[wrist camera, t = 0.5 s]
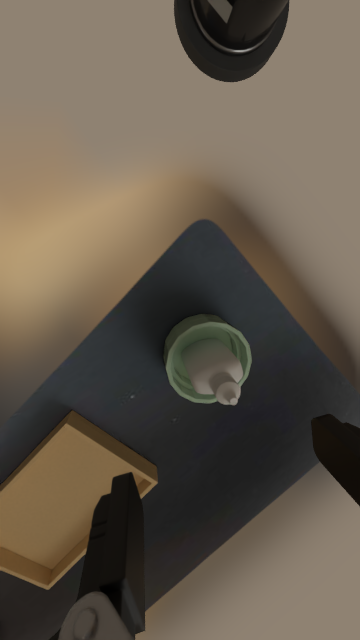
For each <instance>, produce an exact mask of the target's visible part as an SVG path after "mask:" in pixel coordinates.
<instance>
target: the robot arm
mask: <svg viewBox="0 0 360 640" xmlns="http://www.w3.org/2000/svg"><path fill="white" fill-rule="evenodd" d="M288 1H289V0H190V7H191V12H192V16H193V19H194V22H195V24H196V26H197V28H198V30H199V32H200V34H201V35H202V37H203V38H204V39H205V40H206V42H207V43H208V44H209V45H210V46H211V47H213V48H214V49H215V50H217V51H219V52H220V53H223V54H225V55H228V56H244V55H248V54H250V53H252V52H254V51H255V50H257V49H258V48H259V47H261V46H262V45H263V43H264V42H265V41H266V40H267V38H268V37H269V35H270V33H271V32H272V30H273V28H274V26H275V24H276V22H277V19H278V18H279V16H280V14H281V12H282V11H283V9H284V7H285V5H286V4H287V2H288ZM311 425H312V437H313V448H314V451H315V454H316V456H317V458H318V459H319V461H320V462H321V463H322V464H323V465H324V467H325V468H326V469H327V470H328V471H329V472H330V473H331V475H332V476H333V477H334V478H335V479H336V480H337V481H338V482H339V483H340V485H341V486H342V487H343V488H344V489H345V490H346V491H347V492H348V494H349V495H350V496H351V497H352V498H353V499H354V500H355V502H356V503H357V504H358V505H359V506H360V428H358V427H356V426H354V425H351V424H349V423H347V422H346V423H341V422H340V421H339V420H338V419H336V418H335V417H334V416H333V415H331V414H326V415H323V416H319V417H316V418H313V419H312V421H311ZM143 631H145V585H144V516H143V507H142V502H141V498H140V495H139V492H138V488H137V485H136V482H135V479H134V476H133V473H132V472H128V473H125V474H122V475H118V476H115V477H113V479H112V486H111V493H109V494H106V495H103V496H101V498H100V500H99V502H98V503H97V505H96V507H95V509H94V512H93V518H92V523H91V529H90V534H89V541H88V545H87V550H86V556H85V561H84V566H83V572H82V577H81V583H80V588H79V593H78V597H77V600H76V603H75V605H74V606H73V607H72V608H71V610H70V611H69V613H68V614H67V616H66V618H65V620H64V622H63V625H62V627H61V628H60V630H59V631H58V632H57V633H56V634H55V635H54V636H53V637H51V638H50V639H49V640H135V634H137V633H140V632H143Z"/></svg>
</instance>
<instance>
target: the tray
mask: <svg viewBox="0 0 360 640" xmlns="http://www.w3.org/2000/svg"><path fill="white" fill-rule="evenodd" d="M128 472H132V473H133V476H134V479H135V482H136V485H137V488H138V492H139V495H140V498H142V497H143V496H144V495H145V494H147V493H148V492H149V491H150V490H151V489H152V488H153V487H154V486H155V485H156V484H157V483H158V478H157V467H156V466H155V465H154V464H152V463H151V462H149V461H148V460H146V459H145V458H143V457H142V456H140V455H139V454H137V453H136V452H134V451H133V450H131V449H130V448H128V447H127V446H125V445H124V444H122V443H121V442H119V441H118V440H116V439H115V438H113V437H112V436H110V435H109V434H107V433H106V432H104V431H103V430H101V429H100V428H98V427H97V426H95V425H94V424H92V423H91V422H89V421H88V420H86V419H85V418H83V417H82V416H81V415H79V414H78V413H76V412H75V411H73V410H71V412H70V413H69V414H68V415H67V416H66V417H65V418H64V419H63V420H62V421H61V422H60V423H59V424H58V425H57V426H56V427H55V428H54V429H53V430H52V431H51V433H50V434H49V435H48V436H47V437H46V438H45V439H44V440H43V441H42V442H41V443H40V444H39V445H38V446H37V447H36V448H35V449H34V450H33V451H32V453H31V454H30V455H29V456H28V457H27V458H26V459H25V460H24V461H23V462H22V463H21V464H20V465H19V466H18V467H17V468H16V469H15V470H14V471H13V473H12V474H11V475H10V476H9V477H8V478H7V479H6V480H5V481H4V482H3V483H2V484H1V485H0V570H2V571H4V572H6V573H9V574H11V575H14V576H16V577H18V578H21V579H23V580H26V581H28V582H30V583H33V584H35V585H37V586H40V587H42V588H45V589H47V590H49V589H50V588H51V587H52V586H53V585H54V584H55V583H56V582H57V581H58V580H59V579H60V578H61V577H62V576H63V575H64V574H65V573H66V572H67V571H68V570H69V569H70V568H71V567H72V566H73V565H74V564H75V563H76V562H77V561H78V560H79V559H80V558H81V557H82V556H83V555H84V554H85V553H86V550H87V545H88V541H89V534H90V529H91V523H92V518H93V512H94V509H95V507H96V505H97V503H98V502H99V500H100V498H101V496H103V495H106V494H109V493H111V486H112V479H113V477H115V476H118V475H122V474H125V473H128Z"/></svg>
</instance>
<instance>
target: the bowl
mask: <svg viewBox="0 0 360 640" xmlns="http://www.w3.org/2000/svg"><path fill="white" fill-rule="evenodd" d="M211 338H214V339H219V340H221V341H222V342H223V343H224V345H225V346H226V347H227V348H228V349H229V350H230V351H231V352H232V353H233V354H234V355H235V356H236V358H237V359H238V360H239V361H240V363H241V366H242V370H243V377H242V379H241V380H240V381H239V382H238V383H237V384H238V385H239V387H241V385H242V384H243V382H244V381H245V379H246V378H247V377H248V374H249V370H250V366H251V362H252V359H251V352H250V346H249V344H248V342H247V341H246V339H245V338H244V336H243V335H242V333H241V332H240V331H239V330H237V329H236V328H235V327H233V326H232V325H231V324H229V323H228V322H226V321H225V320H223V319H221V318H220V317H218V316H215V315H208V314H199V315H195V316H191V317H187V318H185V319H184V320H183V321H181V322H180V323H178V324H177V325H176V326H174V327H173V329H172V330H171V332H170V333H169V335H168V337H167V338H166V340H165V345H164V351H163V358H164V362H165V367H166V371H167V375H168V378H169V382H170V384H171V385H172V387H173V388H174V389H175V390H176V391H177V393H178V394H179V395H180V396H182V397H184V398H186V399H188V400H190V401H192V402H198V403H213V402H216V401H218V400H217V399H216V397H215V395H214V394H200V393H197V392H196V391H195V389H194V387H193V385H192V383H191V380H190V378H189V375H188V373H187V370H186V368H185V365H184V363H183V360H182V357H181V353H182V351H183V350H184V349H185V348H187V347H188V346H189V345H191V344H193V343H195V342H197V341H200V340H203V339H211Z"/></svg>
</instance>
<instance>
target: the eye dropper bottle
mask: <svg viewBox="0 0 360 640" xmlns="http://www.w3.org/2000/svg"><path fill="white" fill-rule="evenodd" d="M181 357H182V360H183V363H184V365H185V368H186V370H187V373H188V375H189V378H190V380H191V383H192V385H193V387H194V389H195V391H196V392H197V393H200V394H214V395H215V397H216V399H217V400H218V401H219V402H220V403H222V404H231V405H235V404H237V402H238V400H237V399H238V398H239V396H240V392H241V390H240V387H239V385H238V384H237V383H238V382H239V381H240V380H241V379H242V377H243V370H242V366H241V363H240V361H239V360H238V359H237V358H236V356H235V355H234V354H233V353H232V352H231V351H230V350H229V349H228V348H227V347H226V346H225V345H224V343H223V342H222V341H221V340H219V339H214V338H211V339H203V340H200V341H197V342H195V343H193V344H191V345H189V346H188V347H187V348H185V349H184V350H183V351H182V353H181Z"/></svg>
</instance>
